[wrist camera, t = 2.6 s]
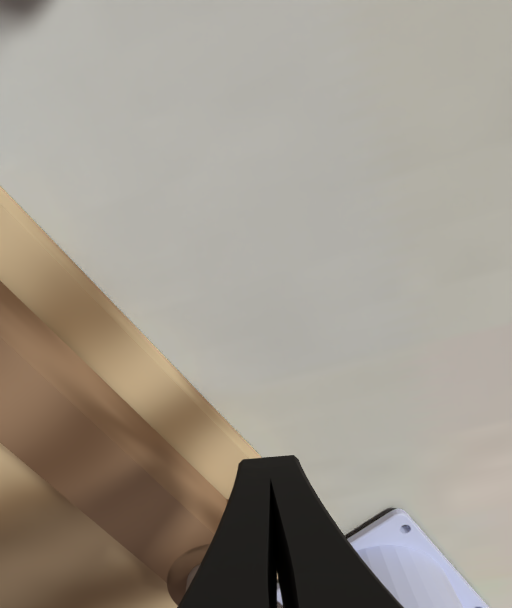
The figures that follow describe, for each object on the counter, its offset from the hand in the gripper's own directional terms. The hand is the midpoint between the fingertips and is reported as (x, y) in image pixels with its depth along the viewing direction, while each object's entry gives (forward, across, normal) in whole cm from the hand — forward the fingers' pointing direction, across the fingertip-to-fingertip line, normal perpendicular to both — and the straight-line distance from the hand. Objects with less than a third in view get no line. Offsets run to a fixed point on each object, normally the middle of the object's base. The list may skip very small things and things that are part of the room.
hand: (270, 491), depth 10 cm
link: (+7, +6, +2) cm, 10 cm away
